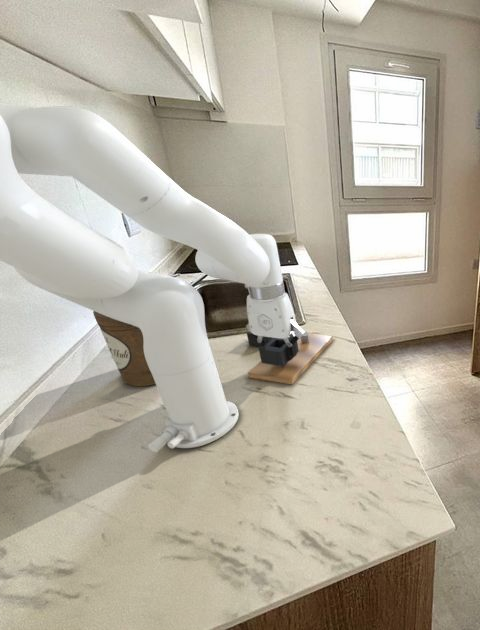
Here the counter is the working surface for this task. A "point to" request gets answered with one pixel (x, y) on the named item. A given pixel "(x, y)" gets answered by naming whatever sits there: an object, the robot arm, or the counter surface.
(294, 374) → the wooden board
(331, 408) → the counter surface
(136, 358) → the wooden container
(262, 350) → the black hollow rectangular block
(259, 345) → the dark grey hollow block
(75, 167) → the robot arm
